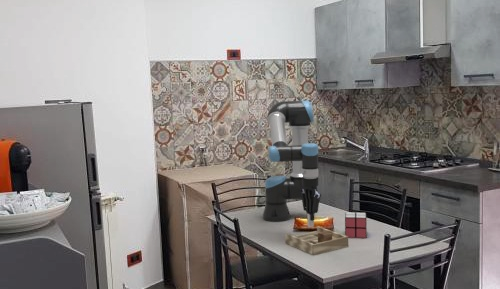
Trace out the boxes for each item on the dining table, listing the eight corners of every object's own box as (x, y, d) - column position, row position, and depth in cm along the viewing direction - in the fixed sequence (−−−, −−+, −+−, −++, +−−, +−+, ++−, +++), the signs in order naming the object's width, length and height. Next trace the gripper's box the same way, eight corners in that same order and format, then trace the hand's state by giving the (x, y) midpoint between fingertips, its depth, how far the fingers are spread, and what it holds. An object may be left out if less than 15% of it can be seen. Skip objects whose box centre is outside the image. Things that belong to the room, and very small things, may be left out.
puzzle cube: (366, 238, 240) (366, 217, 239) (345, 237, 242) (345, 217, 241) (366, 232, 250) (366, 212, 249) (345, 231, 252) (345, 212, 251)
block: (317, 242, 228) (317, 232, 227) (325, 240, 230) (325, 231, 230) (324, 244, 224) (324, 235, 224) (332, 243, 226) (332, 233, 226)
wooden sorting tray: (285, 243, 236) (285, 233, 236) (318, 235, 247) (318, 226, 246) (313, 255, 218) (313, 245, 218) (348, 246, 229) (348, 236, 228)
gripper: (295, 176, 236) (295, 224, 239) (312, 180, 225) (313, 231, 228) (307, 173, 240) (308, 221, 243) (325, 178, 229) (326, 228, 232)
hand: (310, 226), depth 236 cm, fingers closed
